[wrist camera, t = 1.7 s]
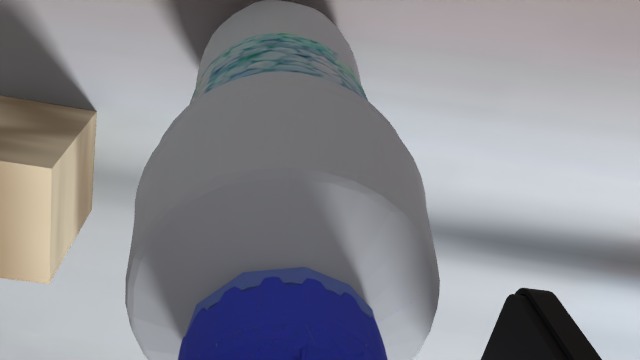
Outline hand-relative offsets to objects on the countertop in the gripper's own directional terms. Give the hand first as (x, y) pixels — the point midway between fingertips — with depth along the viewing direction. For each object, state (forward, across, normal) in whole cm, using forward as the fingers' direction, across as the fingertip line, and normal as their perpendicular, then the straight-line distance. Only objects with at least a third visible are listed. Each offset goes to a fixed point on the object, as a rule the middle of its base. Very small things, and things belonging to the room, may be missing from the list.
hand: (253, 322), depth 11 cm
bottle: (+17, -1, 0) cm, 17 cm away
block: (+17, +9, +6) cm, 20 cm away
